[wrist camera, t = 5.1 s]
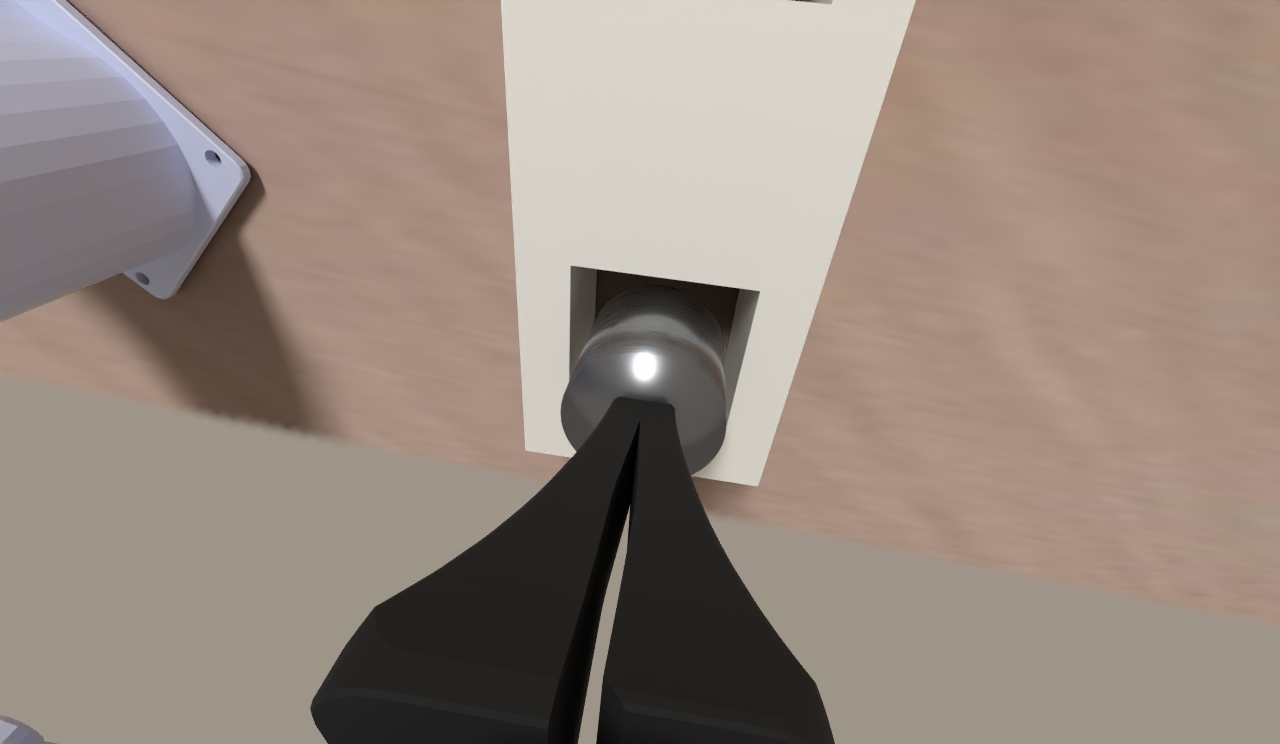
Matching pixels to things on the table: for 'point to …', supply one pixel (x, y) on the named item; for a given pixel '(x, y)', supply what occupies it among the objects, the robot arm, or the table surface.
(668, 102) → the band board
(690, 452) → the peg
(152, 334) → the table surface
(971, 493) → the table surface
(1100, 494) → the table surface
